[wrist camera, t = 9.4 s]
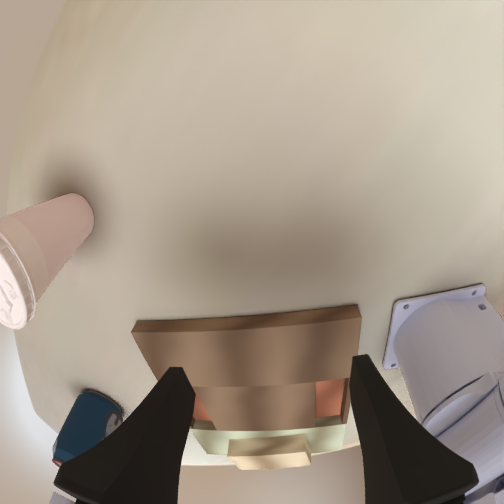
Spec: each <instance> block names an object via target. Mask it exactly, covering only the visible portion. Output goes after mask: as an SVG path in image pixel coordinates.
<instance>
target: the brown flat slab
mask: <svg viewBox="0 0 504 504" xmlns="http://www.w3.org/2000/svg"><path fill="white" fill-rule="evenodd" d="M361 318H362V317H361V314H360V311H359V308H358V305H350V306H342V307H335V308H326V309H318V310H309V311H299V312H289V313H279V314H267V315H255V316H242V317H227V318H210V319H188V320H157V321H137V322H136V324H135V326H134V327H133V329H132V331H131V333H132V335H133V337H134V339H135V341H136V343H137V345H138V347H139V349H140V351H141V352H142V354H143V356H144V358H145V360H146V361H147V363H148V365H149V367H150V368H151V370H152V372H153V374H154V375H155V377H156V379H157V380H158V381H159V380H160V378H161V377H162V376H163V375H164V373H165V372H166V371H167V370H168V368H169V367H183V369H184V371H185V374H186V376H187V378H188V380H189V382H190V384H191V385H192V387H193V389H194V391H195V393H196V396H195V405H194V413H193V417H192V421H191V425H190V429H189V430H190V431H191V432H192V434H193V435H194V437H195V438H196V439H197V441H198V442H199V443H200V445H201V446H202V447H203V449H204V450H205V451H206V453H207V454H215V455H227V453H228V446H229V439H250V438H265V437H276V436H286V435H295V434H302V433H305V436H306V438H307V441H308V443H309V446H310V448H311V453H320V452H328V451H336V450H341V447H342V442H343V438H344V433H345V429H346V424H347V419H348V413H349V408H350V402H351V397H350V389H349V382H350V374H351V366H352V357H353V356H358V348H359V339H360V329H361ZM344 380H345V384H344ZM343 388H344V393H343ZM342 397H343V400H342ZM341 404H342V408H341ZM340 411H341V414H340Z"/></svg>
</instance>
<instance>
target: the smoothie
mask: <svg viewBox="0 0 504 504" xmlns="http://www.w3.org/2000/svg"><path fill="white" fill-rule="evenodd" d="M93 227H94V214H93V211H92V208H91V206H90V205H89V203H88V202H87V200H86V199H85V198H84V197H82V196H81V195H79V194H76V193H69V194H66V195H63V196H60V197H57V198H54V199H51V200H48V201H45V202H43V203H40V204H37V205H34V206H32V207H29V208H26V209H24V210H21V211H19V212H16V213H14V214H11V215H9V216H6V217H3V218H1V219H0V323H2V324H3V325H5V326H7V327H9V328H13V329H21V328H23V327H24V326H25V324H26V323H27V322H28V321H29V320H32V318H33V316H34V315H35V312H36V303H37V302H38V300H39V299H40V297H41V296H42V295H43V293H44V292H45V291H46V289H47V287H48V286H49V285H50V283H51V282H52V281H53V279H54V278H55V277H56V275H57V274H58V273H59V271H60V270H61V269H62V267H63V266H64V265H65V264H66V262H67V261H68V260H69V259H70V257H71V256H72V255H73V254H74V252H75V251H76V250H77V249H78V247H79V246H80V245H81V244H82V243H83V241H84V240H85V239H86V238H87V237H88V236H89V234H90V233H91V232H92V230H93Z"/></svg>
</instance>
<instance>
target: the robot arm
mask: <svg viewBox="0 0 504 504" xmlns="http://www.w3.org/2000/svg"><path fill="white" fill-rule="evenodd" d="M473 291H474V292H473ZM485 291H486V287H485V285H484V284H480V285H476V286H471V287H467V288H462V289H457V290H452V291H447V292H442V293H437V294H432V295H427V296H421V297H416V298H410V299H404V300H399V301H397V302H396V303H395V304H394V307H393V314H392V320H391V326H390V331H389V337H388V342H387V347H386V352H385V356H384V361H383V368H384V369H392V368H397V367H400V368H401V371H402V374H403V377H404V380H405V383H406V385H407V388H408V391H409V394H410V397H411V401H412V404H413V407H414V410H415V413H416V416H417V420H418V421H417V420H416V419H415V418H414V417H413V416H412V415H411V414H410V413H409V411H408V410H407V409H406V408H405V407H404V406H403V404H402V403H401V402H400V401H399V399H398V398H397V397H396V396H395V394H394V393H393V392H392V390H391V389H390V387H389V386H388V385H387V383H386V382H385V381H384V379H383V378H382V376H381V375H380V373H379V371H378V370H377V368H376V367H375V365H374V363H373V362H372V360H371V358H370V357H369V355H367V354H365V355H358V356H353V357H352V366H351V374H350V382H349V389H350V397H351V405H352V410H353V414H354V418H355V423H356V427H357V431H358V435H359V440H360V444H361V449H362V455H363V463H364V464H363V465H364V478H365V498H366V499H365V502H366V503H365V504H504V320H503V319H502V317H501V316H500V315H499V314H498V312H497V311H496V310H495V308H494V307H493V306H492V305H491V303H490V302H489V301H488V300H487V298H486V297H485V296H484V295H485ZM406 304H407V305H406ZM405 305H406V306H405ZM404 306H405V307H404ZM195 396H196V393H195V391H194V389H193V387H192V385H191V384H190V382H189V380H188V378H187V376H186V374H185V371H184V369H183V367H169V368H168V370H167V371H166V372H165V373H164V375H163V376H162V377H161V378H160V380H159V381H158V382H157V384H156V385H155V386H154V387H153V389H152V390H151V391H150V393H149V394H148V395H147V396H146V397H145V399H144V400H143V401H142V402H141V403H140V405H139V406H138V407H137V408H136V409H135V410H134V411H133V412H132V413H131V415H130V416H129V417H128V418H127V419H126V420H125V421H124V422H123V423H122V424H121V425H120V426H119V427H117V428H116V429H115V430H114V431H113V432H112V433H111V434H109V435H108V436H107V437H106V438H104V439H103V440H102V441H100V442H99V443H98V444H96V445H95V446H93V447H92V448H90V449H89V450H87V451H85V452H84V453H82V454H80V455H78V456H77V457H75V458H73V459H70V460H68V461H66V462H64V463H62V464H61V466H60V468H59V470H58V473H57V475H56V478H55V480H54V485H55V486H56V487H58V488H59V489H61V490H63V491H64V492H66V493H68V494H70V495H71V496H73V497H75V498H76V499H77V500H76V502H73V501H71V500H69V499H67V498H66V497H64V496H62V495H59V494H58V493H56V492H53V495H52V497H51V500H50V503H49V504H177V501H178V485H179V474H180V466H181V460H182V455H183V451H184V447H185V444H186V440H187V436H188V432H189V429H190V425H191V421H192V417H193V413H194V405H195Z"/></svg>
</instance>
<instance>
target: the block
mask: <svg viewBox="0 0 504 504" xmlns="http://www.w3.org/2000/svg"><path fill="white" fill-rule="evenodd" d="M227 457H228V458H229V459H230V460H231V461H232V462H233V463H234V464H235V465H237V467H238V468H240V469H241V470H252V469H274V468H287V467H298V466H306V465H311V448H310V446H309V443H308V441H307V438H306V436H305V433H302V434H295V435H286V436H276V437H265V438H250V439H229V446H228V453H227Z"/></svg>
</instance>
